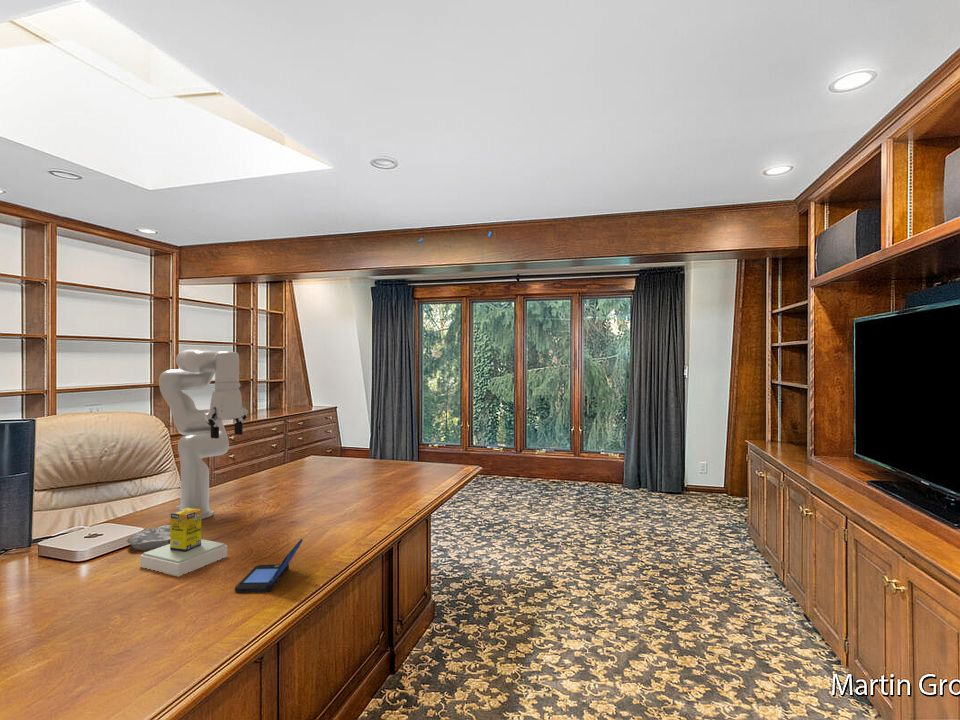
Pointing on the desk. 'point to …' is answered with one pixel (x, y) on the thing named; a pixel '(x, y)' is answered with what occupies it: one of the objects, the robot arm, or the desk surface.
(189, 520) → the supplement box
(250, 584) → the handheld game console
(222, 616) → the desk surface
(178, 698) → the desk surface
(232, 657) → the desk surface
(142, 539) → the brain slice
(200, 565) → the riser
